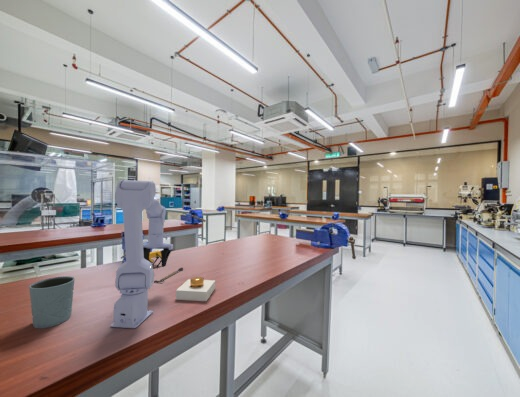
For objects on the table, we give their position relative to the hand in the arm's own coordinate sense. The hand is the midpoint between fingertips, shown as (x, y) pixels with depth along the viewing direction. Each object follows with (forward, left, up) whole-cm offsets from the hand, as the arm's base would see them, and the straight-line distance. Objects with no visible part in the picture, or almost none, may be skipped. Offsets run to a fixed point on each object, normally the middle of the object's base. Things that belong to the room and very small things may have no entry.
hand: (155, 265), depth 92 cm
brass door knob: (-2, -19, -10) cm, 22 cm away
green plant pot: (-26, +18, -10) cm, 33 cm away
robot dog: (+26, +19, -10) cm, 34 cm away
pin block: (-2, -19, -10) cm, 22 cm away
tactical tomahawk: (+17, 0, -11) cm, 20 cm away
